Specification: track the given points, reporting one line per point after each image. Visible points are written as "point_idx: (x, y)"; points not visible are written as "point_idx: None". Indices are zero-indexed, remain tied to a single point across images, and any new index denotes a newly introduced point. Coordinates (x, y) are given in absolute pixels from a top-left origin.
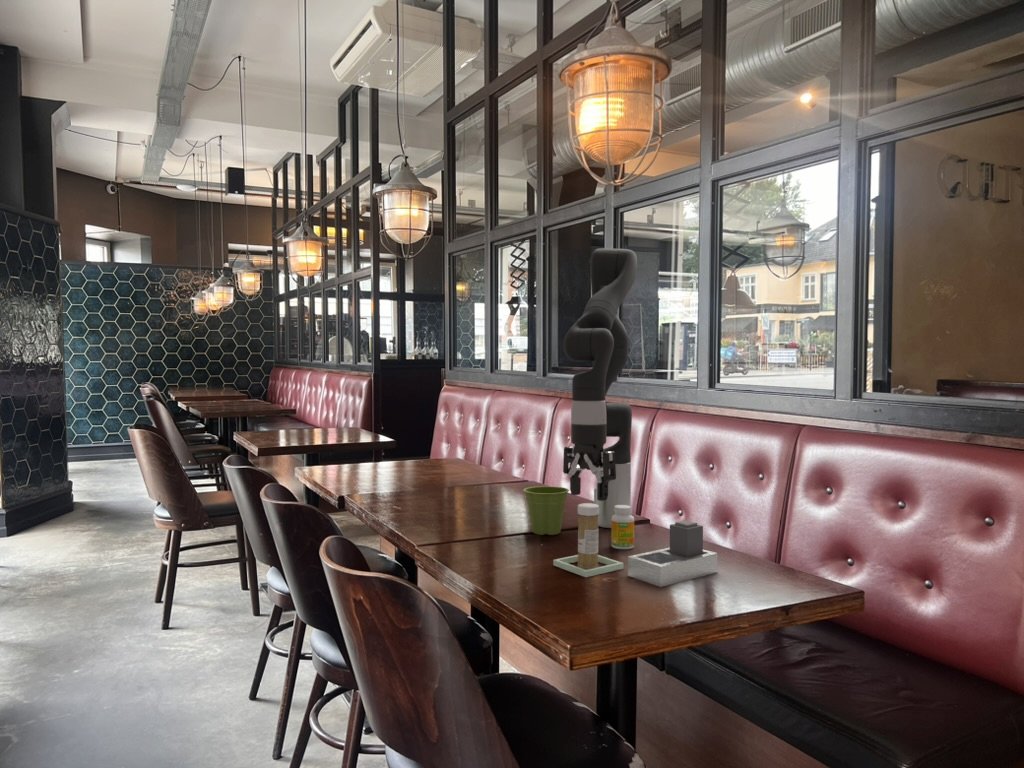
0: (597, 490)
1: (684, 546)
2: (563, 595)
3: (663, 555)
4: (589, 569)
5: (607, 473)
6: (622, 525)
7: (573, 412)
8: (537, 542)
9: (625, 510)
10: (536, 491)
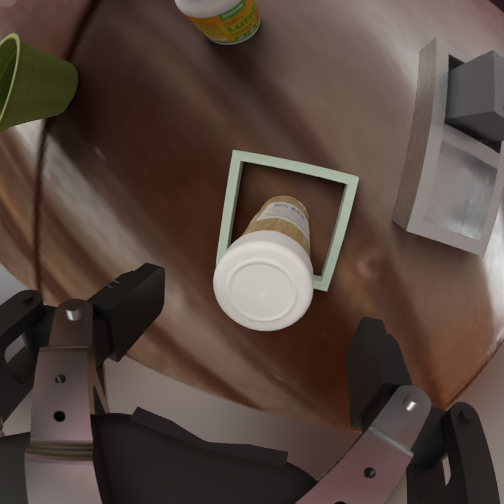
0: (349, 392)
1: (501, 136)
2: (345, 373)
3: (451, 145)
4: (324, 274)
5: (436, 480)
6: (232, 13)
7: None
8: (86, 149)
9: None
10: None
